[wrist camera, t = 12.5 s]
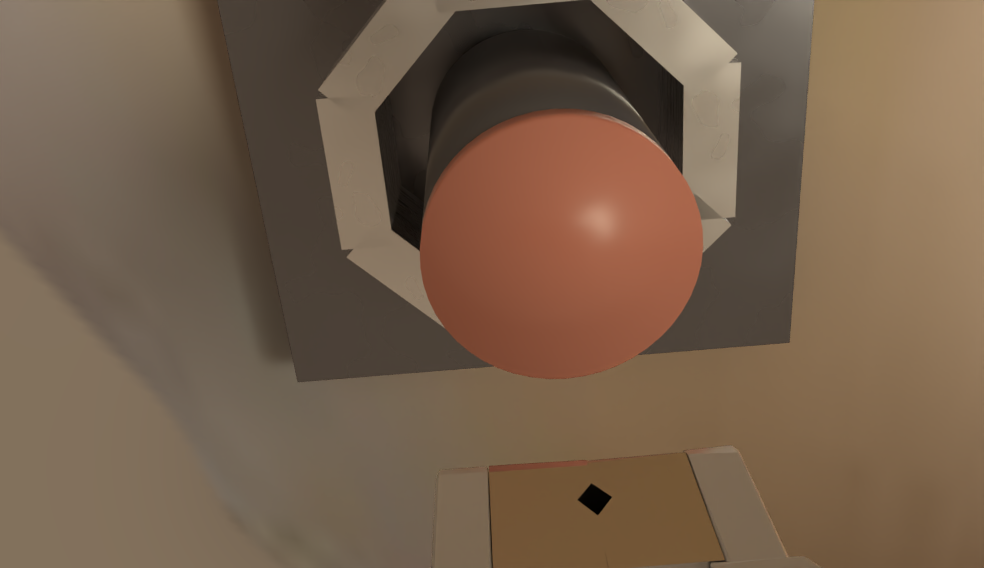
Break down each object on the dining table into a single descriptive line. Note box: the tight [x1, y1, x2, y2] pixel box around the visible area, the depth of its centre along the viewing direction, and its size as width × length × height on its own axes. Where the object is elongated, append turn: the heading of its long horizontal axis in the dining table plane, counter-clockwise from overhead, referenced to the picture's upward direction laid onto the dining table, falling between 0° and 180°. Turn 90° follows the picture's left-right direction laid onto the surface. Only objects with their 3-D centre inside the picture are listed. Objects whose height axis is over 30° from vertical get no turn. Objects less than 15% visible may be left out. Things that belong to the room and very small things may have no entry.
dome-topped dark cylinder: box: [420, 29, 703, 379], centre depth 19 cm, size 5×5×8 cm
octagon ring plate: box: [217, 0, 814, 382], centre depth 22 cm, size 14×14×4 cm
